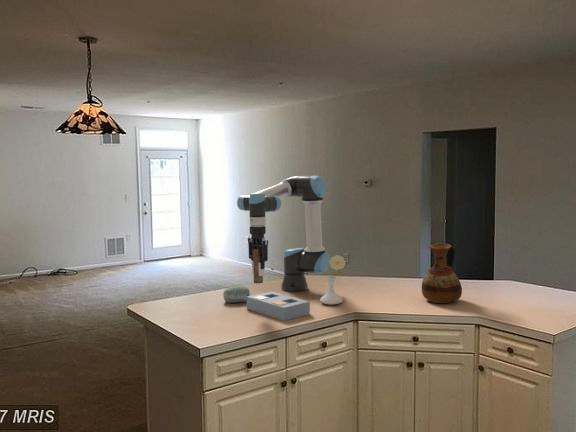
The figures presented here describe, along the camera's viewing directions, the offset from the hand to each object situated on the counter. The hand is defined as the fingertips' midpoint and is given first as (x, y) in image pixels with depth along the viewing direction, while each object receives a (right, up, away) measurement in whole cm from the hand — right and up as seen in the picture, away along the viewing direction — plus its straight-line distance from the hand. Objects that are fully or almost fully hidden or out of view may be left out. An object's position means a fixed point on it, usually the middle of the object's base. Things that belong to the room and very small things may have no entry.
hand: (258, 274), depth 242 cm
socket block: (+9, -18, +4) cm, 20 cm away
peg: (0, -4, 0) cm, 4 cm away
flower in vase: (+37, -17, +18) cm, 44 cm away
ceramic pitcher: (+93, -16, +22) cm, 97 cm away
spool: (-12, -17, +22) cm, 31 cm away
